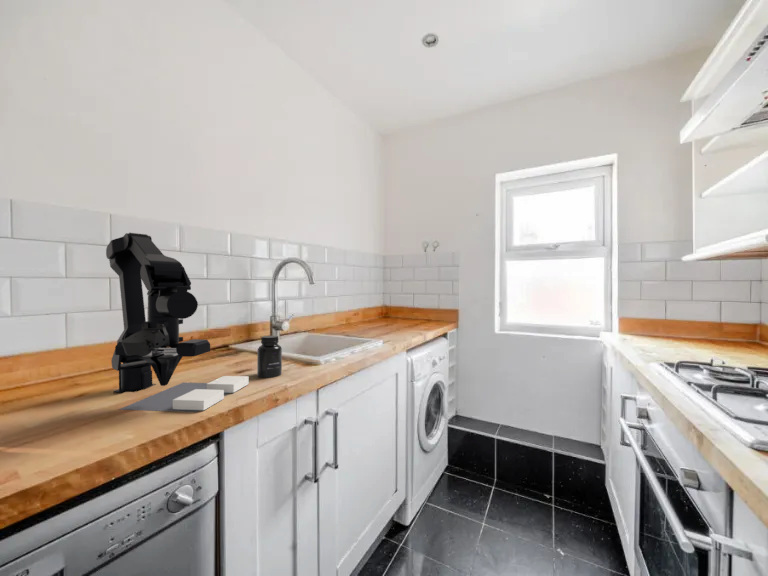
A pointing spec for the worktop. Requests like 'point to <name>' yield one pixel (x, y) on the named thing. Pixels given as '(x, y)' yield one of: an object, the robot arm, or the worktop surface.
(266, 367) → the supplement bottle
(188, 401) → the tile near
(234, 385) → the tile far
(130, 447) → the worktop surface
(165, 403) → the mat
